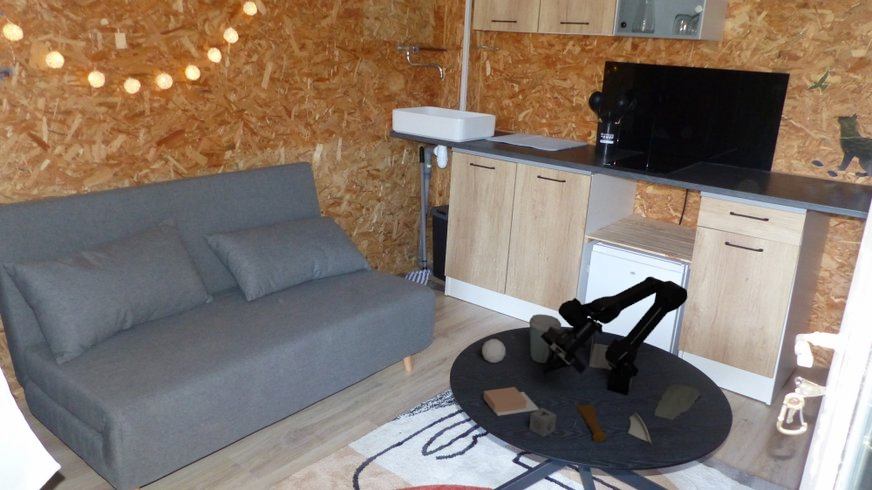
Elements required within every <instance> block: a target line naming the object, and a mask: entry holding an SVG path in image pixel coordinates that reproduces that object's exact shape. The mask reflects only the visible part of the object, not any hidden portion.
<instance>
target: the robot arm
mask: <svg viewBox="0 0 872 490" xmlns="http://www.w3.org/2000/svg"><path fill="white" fill-rule="evenodd" d="M654 294H655V297H654V302H653V303H652V304H651V306H650V307H649V308H648V309H647V311H645V313H644V314H643V315H642V317H641V318H640V319H639V320H638V322H637V323H636V324H635V325H634V326H633V327H632V329H631V330H630V331H629V332H628V334H627V335H626V336H625V337H624V338H622V339H620V340H618V339H617V338H615V339H613V340H612V341H611V343H610V345H607V346H608V347H607V351H606V352H605V359H606V361H607V362H608V365H609V366H611V367H612V369H611V370H609V372H608V375H607V382H606V385H607V387H606V390H608V391H612V392H615V393H619V394H622V395H624V396H627V395H629V393H630V392H631V390H632V388H633V384H632V383H633V377H636V376H637V375H638V373H639V369H638V367H636V366H635V364H634V362H635V361H636V359H637V353H638V349H639V348H640V346H641V345H642V344H644V342H645V340H646V339H647V338H648V337H649V336H650V335H651V333H652V332H653V331H654V330H655V328H657V326H658V325H659V324H660V322H661V321H663V319H664V318H665V316H666V315H668V313H671V312H673V311H676V310H678V309H679V308H680V307H681V306H683V304H684V303H686V301H687V299H688V290H687V289H686V288H685V287H684V286H682V285H679V284H678V283H676V282H674V281H672V280H665V281H664V280H661V279H660V278H659V279H658V278H655V277H654V276H647V277H646V278H645V279H644V280H642V281H640V282H639V283H637V284H634V285H632V286H630V287H628V288H626V289H625V290H622V291H621V292H620V291H619V292H618V293H617V294H613V295H607V296H602V297H598V298H595V299H593V300H592V301H590V302H586V303H581V301H580V300H579V299H578V298H576V297H574V298H573V299H571V300H570V299H569V300H567V301H565V302H562V304H561V305H560V306H559V308H558V314H559V316H561V318H562V319H563V320H564V321H565V322H567V323H566V324H568V325H569V326H570V327H571V329H568V328H566V329H563V330H561V329H560V330H558V329H556V328H553V327H549V329H548V331H547V332H544V333H543V334H542V335H541V336H540V337H541V338H542V339H543V340H544V341H545V342H546V343H547V344H548V345H549V346H550V347H549V346H548V348H549V355H548V358H547V360H546V362H545V363H543V364H544V365H543V367H542V369H541V372H542V374H544V375H546V374H549V373H551V372H554V371H557V370H560V369H563V368H567V367H568V368H570V367H573V368H574V370H576V371H577V372H578V373H579V374H580V375H582V374H583V373H584V372H585V370H586V367H587V366H586V364H585V363H583V361H581V360H580V358H579V357H577V354H576V353H577V352H578V351H579V350H580V349H581V348H583V349H585V348H586V347H587V345H586V343H587V342H588V340H589V339H590V338H591V337H593V334H594V333H595V332H597V333H598V334H600V335H603V325H607V324H610V323H611V322H612V321H614V320H615V319H617V318H618V317H620V314H621V312H622V311H624V310H625V309H627V308H629V307H631V306H632V305H635V304H637V303H639V302H641V301H643V300H644V299H647V298H648V297H651V296H653V295H654ZM595 321H597V323H596V322H595ZM595 334H596V333H595ZM570 365H571V366H570Z"/></svg>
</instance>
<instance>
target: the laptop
mask: <svg viewBox="0 0 872 490" xmlns="http://www.w3.org/2000/svg"><path fill="white" fill-rule="evenodd" d="M594 321H595V320H594ZM595 322H596V323H598V321H595ZM596 332H597V331H596ZM596 332H595V333H594V334H593V335H592V339H591V346H590V355H589V361H588V365H589V366H588V367H590V368H594V369H598V368H599V369H600V370H604V369H605V370H609V371H611V369H612V367H611V366H609V365H608V362H607V361H606V359H605V352H606V351H607V347H608V346H609V345H605V344H601V343H595V340H596V339H595V338H596Z"/></svg>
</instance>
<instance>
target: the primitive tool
mask: <svg viewBox="0 0 872 490" xmlns="http://www.w3.org/2000/svg"><path fill="white" fill-rule="evenodd" d="M575 408H576V410H577V412H578V413H579V414H580V415H581V417H582V418H583V420H584V422H585V423H586V425H587V427H588V428H589V429H590V431H591V433H592V440H593V442H594V443H604V441H606V438H607V436H606V433H605V432H604V431H603V430H602V428H601V427H600V425H599V422H598V419H597V415H596V409H595V407H594V406H593V405H590V404H589V405H588V404H587V405H575Z"/></svg>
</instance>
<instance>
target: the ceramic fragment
mask: <svg viewBox="0 0 872 490" xmlns="http://www.w3.org/2000/svg"><path fill="white" fill-rule="evenodd" d="M628 419H629V422H630V424H629V425H630V426H629V430H628V432H627V434H628V435H630V436H632V437H634V438H636V439H638V440H641V441H643V442H646V443H647V444H648V445H651V446H653V442H652V438H651V436H650V433H649V430H648V427H647V426H646V424H645V422H644V421H643V419H642V418H641V416H640V415H639V414H638V413H637V412H634V413H633V414H632V415H631V416H628Z"/></svg>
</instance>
